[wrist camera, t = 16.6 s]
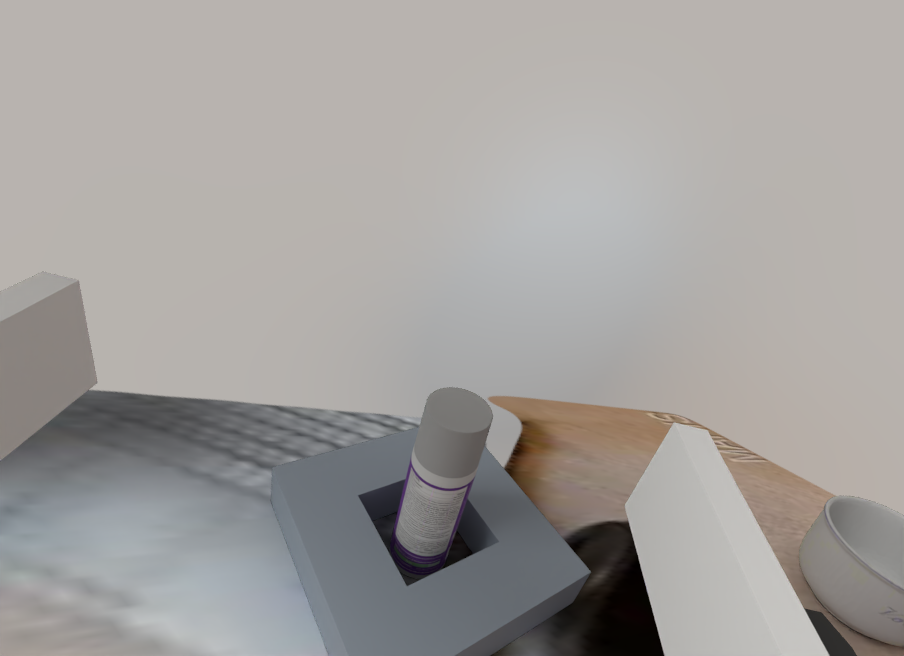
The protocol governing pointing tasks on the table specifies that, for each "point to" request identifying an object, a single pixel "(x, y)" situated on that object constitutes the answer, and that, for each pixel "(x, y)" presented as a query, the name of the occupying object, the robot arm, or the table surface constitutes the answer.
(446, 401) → the container
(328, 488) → the socket block
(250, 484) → the table surface
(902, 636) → the teacup
